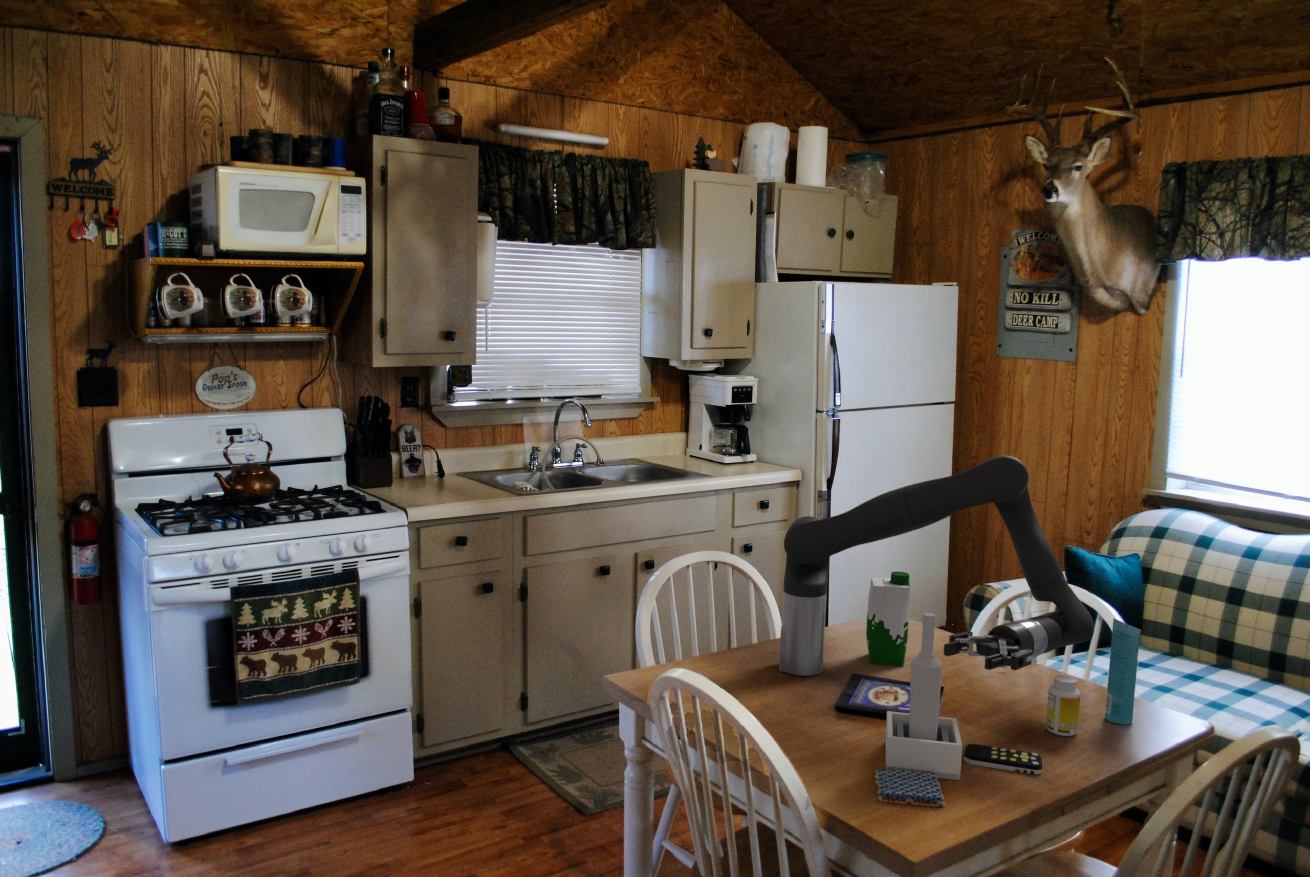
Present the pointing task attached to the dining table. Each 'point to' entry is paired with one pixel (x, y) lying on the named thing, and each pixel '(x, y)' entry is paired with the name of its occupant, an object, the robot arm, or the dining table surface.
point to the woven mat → (909, 787)
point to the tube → (1122, 673)
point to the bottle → (925, 686)
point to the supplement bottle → (1063, 706)
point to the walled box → (923, 748)
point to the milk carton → (888, 619)
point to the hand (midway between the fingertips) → (965, 657)
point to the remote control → (1003, 758)
